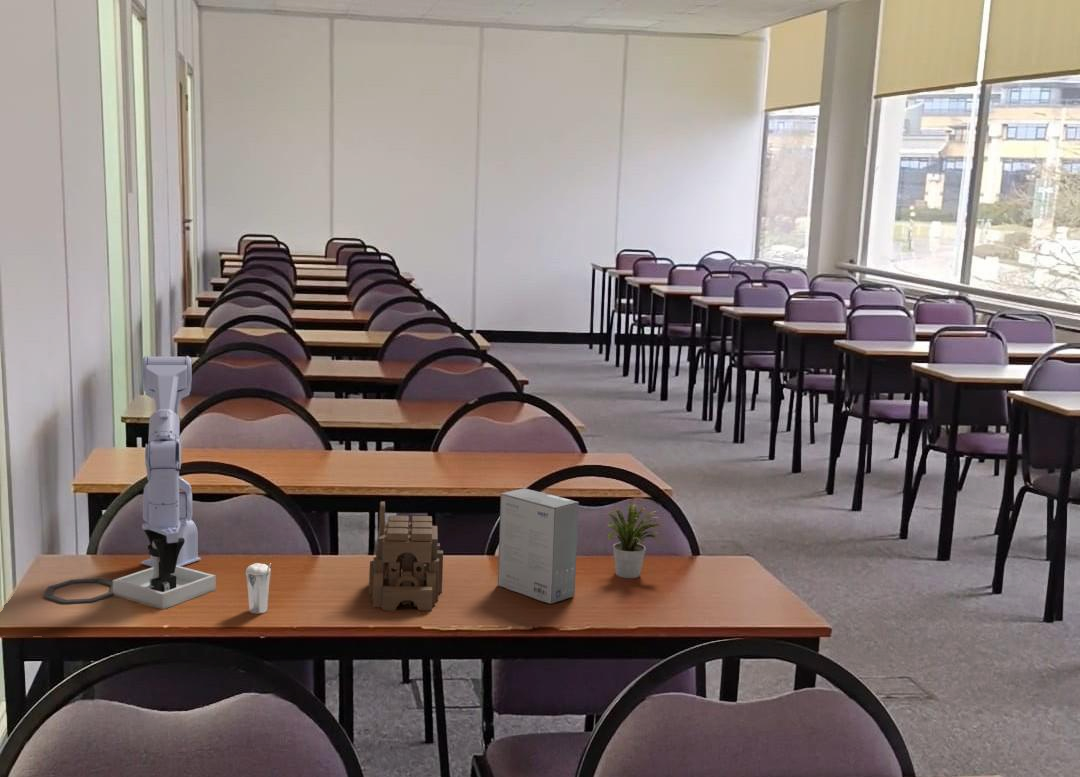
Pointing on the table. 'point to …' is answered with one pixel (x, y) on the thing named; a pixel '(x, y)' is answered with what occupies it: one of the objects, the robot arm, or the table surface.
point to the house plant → (630, 541)
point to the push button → (160, 573)
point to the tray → (186, 589)
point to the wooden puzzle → (406, 563)
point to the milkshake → (258, 587)
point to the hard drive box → (538, 545)
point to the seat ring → (49, 596)
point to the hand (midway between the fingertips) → (164, 568)
